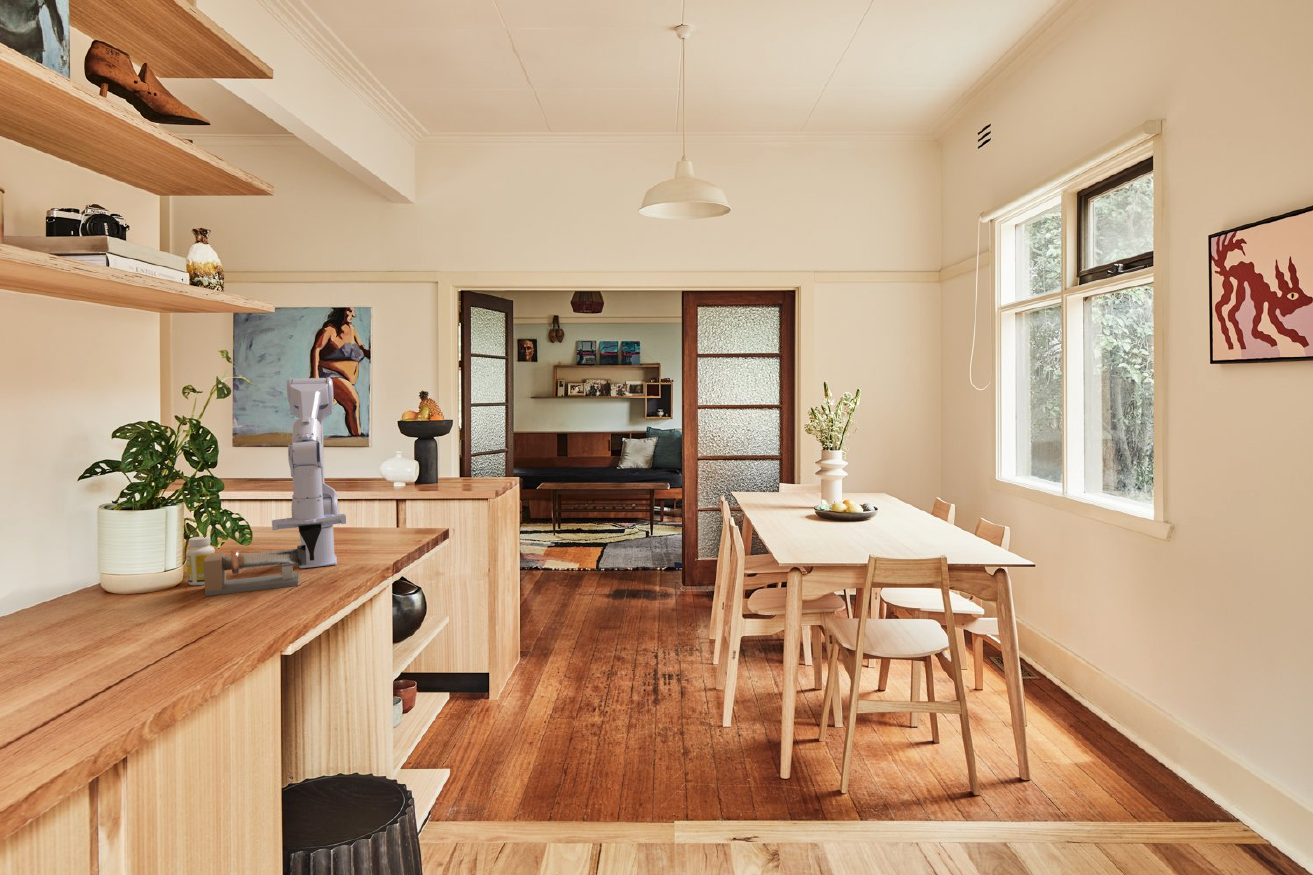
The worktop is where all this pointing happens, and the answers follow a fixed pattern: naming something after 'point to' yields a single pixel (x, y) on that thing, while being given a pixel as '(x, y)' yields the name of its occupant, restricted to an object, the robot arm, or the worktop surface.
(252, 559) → the shaft
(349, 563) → the worktop surface
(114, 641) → the worktop surface
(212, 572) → the shaft stand
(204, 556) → the supplement bottle
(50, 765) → the worktop surface
